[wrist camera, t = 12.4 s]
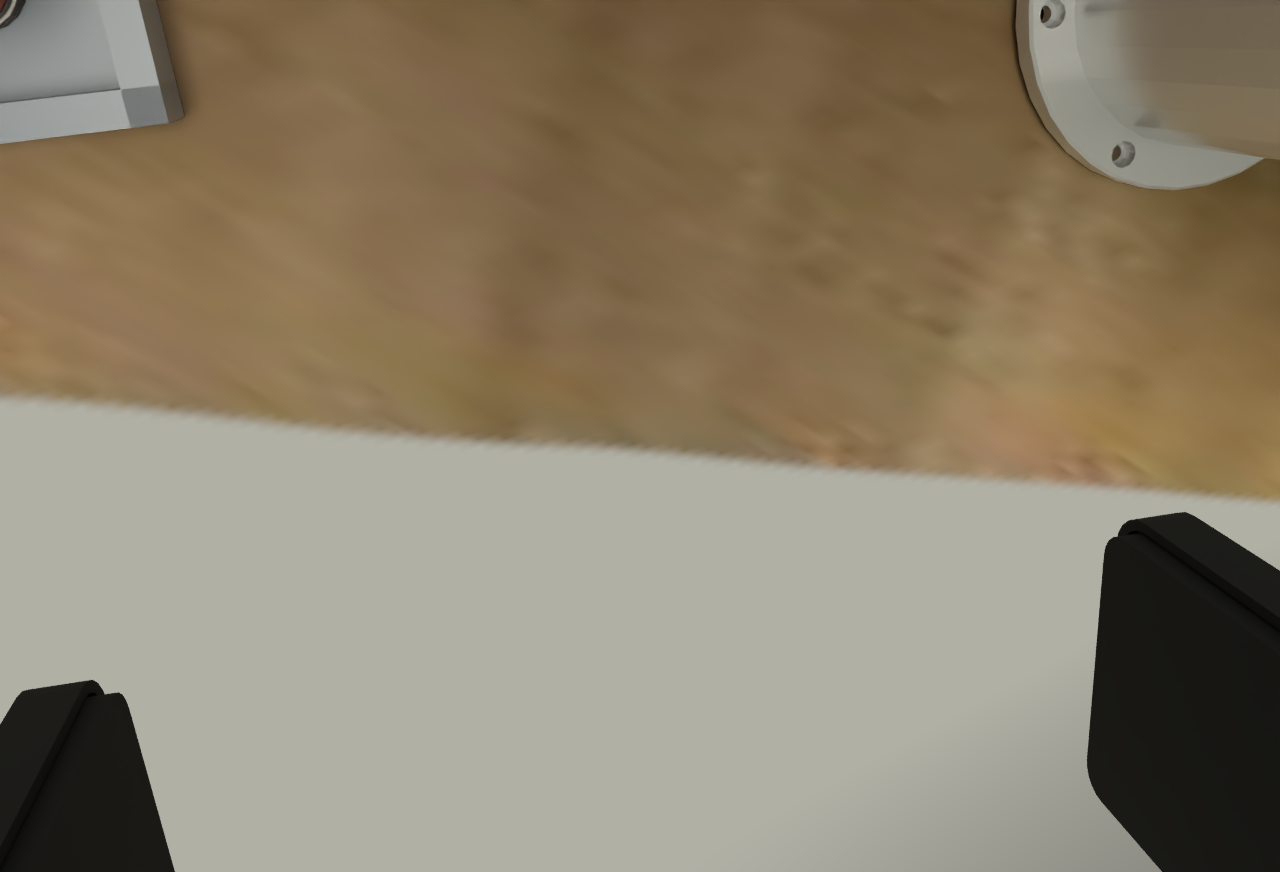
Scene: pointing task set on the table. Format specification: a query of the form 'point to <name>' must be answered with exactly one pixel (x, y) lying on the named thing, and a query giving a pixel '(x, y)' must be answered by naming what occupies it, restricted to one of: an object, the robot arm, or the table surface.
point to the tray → (85, 69)
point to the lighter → (10, 11)
